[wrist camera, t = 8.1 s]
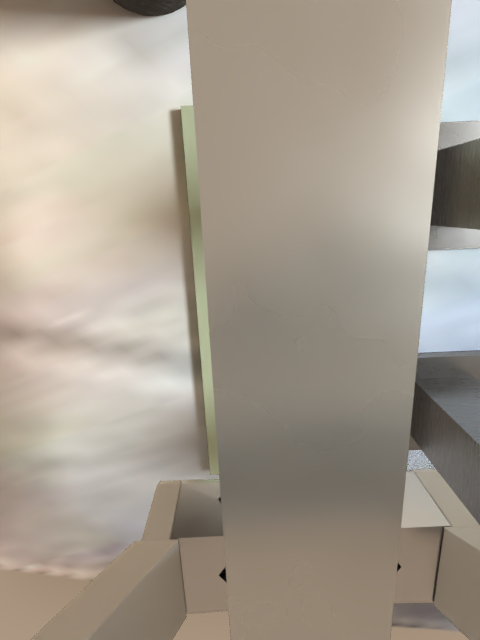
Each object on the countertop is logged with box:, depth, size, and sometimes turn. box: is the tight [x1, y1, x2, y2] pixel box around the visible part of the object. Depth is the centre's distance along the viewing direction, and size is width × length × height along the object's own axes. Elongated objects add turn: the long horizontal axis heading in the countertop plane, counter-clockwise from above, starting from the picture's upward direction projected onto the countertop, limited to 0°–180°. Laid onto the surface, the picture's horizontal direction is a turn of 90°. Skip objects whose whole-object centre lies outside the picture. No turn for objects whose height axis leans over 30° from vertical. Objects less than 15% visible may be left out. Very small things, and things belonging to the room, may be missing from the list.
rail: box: [186, 0, 452, 640], centre depth 8 cm, size 3×22×3 cm, turn 2°
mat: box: [181, 106, 219, 475], centre depth 25 cm, size 8×24×1 cm, turn 3°
